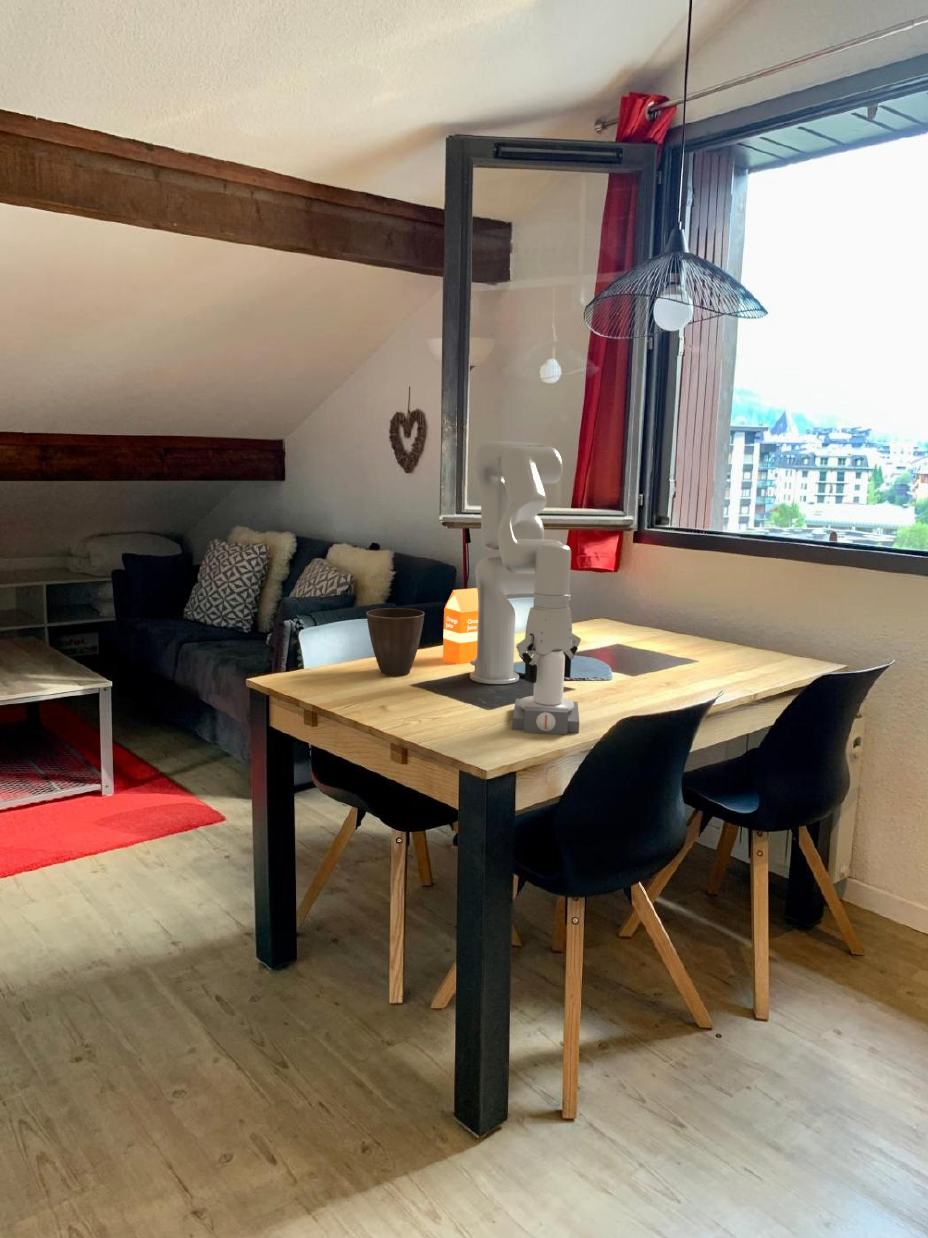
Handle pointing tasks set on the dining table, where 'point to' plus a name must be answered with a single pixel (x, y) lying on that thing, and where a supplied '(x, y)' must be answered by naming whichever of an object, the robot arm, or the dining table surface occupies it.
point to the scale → (545, 717)
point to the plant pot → (395, 638)
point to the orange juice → (461, 626)
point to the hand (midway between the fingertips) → (547, 679)
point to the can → (549, 679)
